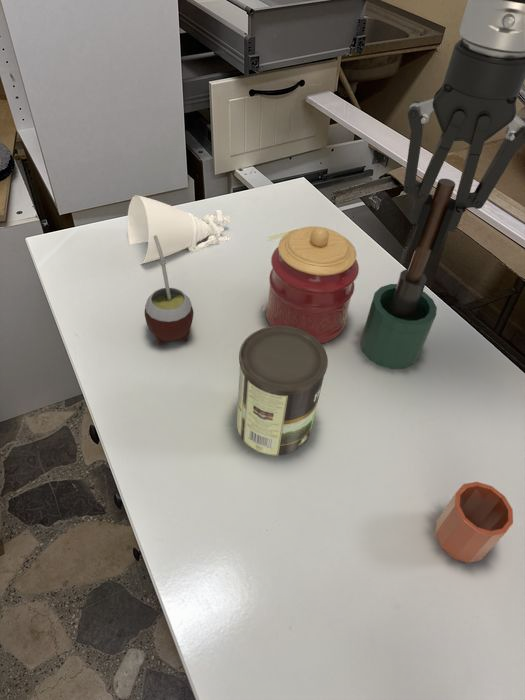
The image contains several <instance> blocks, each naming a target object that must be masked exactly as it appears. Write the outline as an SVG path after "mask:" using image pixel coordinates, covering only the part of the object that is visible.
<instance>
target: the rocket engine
mask: <svg viewBox="0 0 525 700" xmlns="http://www.w3.org/2000/svg"><path fill="white" fill-rule="evenodd" d="M213 213H214V214H213ZM213 213H210V215H209V214H205V215H204V216H203V217H202V219H201V218H199V217H197V216H196V215H194V214H193V213H192V212H189V211H188V212H187V211H184V210H182V209H179V207H175V206H173V205H170V204H168V203H165V202H162V201H159V200H156V199H153V198H150V197H145V196H142V195H134V196H132V198H131V200H130V202H129V205H128V210H127V222H126V223H127V226H126V227H127V238H128V243H129V245H134V244H140V243H147V250H146V254H145V258H144V260H143V261H142V262H139V264H140V265H142V264H147V263H151V262H154V261H158V260H159V258H160V256H159V253H158V249H157V246H156V243H155V240H154V236H157V237H158V240H159V243H160V246H161V249H162V253H163V256H164V257H165V258H166V257H170V256H171V255H174V254H176V253H179V252H182V251H183V250H185V249H187V250H188V251H189V252H191V253H197V252H199V251H200V250H203V249H205V248H206V247H208V246H210V245H216V244H220V243H223V242H228V241H229V240H232V237H231V236H230V235H223V233H224V232H225V228H224V227H223V226H222V225H223V224H224V225H226V226H227V225H228V224H229V223H230V220H231V218H230V216H229V215H223V211H222V209H215V210H214V211H213ZM221 235H222V236H221ZM206 238H207V240H206V241H204V242H203V240H204V239H206ZM199 242H200V243H199ZM197 243H198V244H197Z"/></svg>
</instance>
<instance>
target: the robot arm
mask: <svg viewBox="0 0 525 700" xmlns="http://www.w3.org/2000/svg"><path fill="white" fill-rule="evenodd" d="M458 34H459V36H460V38H461V39H459V40H458V41H457V42H456V43H455V44H454V46H453V50H452V52H451V56H450V60H449V63H448V66H447V68H446V69H447V70H446V72H445V76H444V79H443V82H442V85H441V87H439V89H438V90H437V91H436V92H435V94H434V95H433V98H431V99H427V100H424V101H421V102H420V101H419V100H412V101H411V102H410V105H409V107H408V112H407V118H408V123H409V127H410V137H409V144H408V152H407V153H408V154H407V159H406V167H405V175H404V182H403V192H404V194H406V195H411V196H413V198H414V202H413V206H412V208H411V212H410V215H409V216H410V217H409V221H410V223H411V224H415V227H414V232H413V234H412V237H411V243H410V246H409V250H412V251H416V249H417V246H418V243H419V240H420V237H421V234H422V231H423V228H424V225H425V223H426V220H427V217H428V214H429V211H430V208H431V204H432V198H433V195H434V194H431V191H432V189H433V187H434V185H435V182H436V181H437V178H438V176H439V174H440V171H441V170H442V167H443V165H444V163H445V160H446V158H447V156H448V154H449V152H450V150H451V149H452V147H453V145H454V143H455V142H464V143H466V144H468V148H467V153H466V157H465V160H464V164H463V168H462V171H461V176H460V179H459V183H458V186H457V187H458V188H457V191H456V195H455V199H453V198H451V199H450V201H449V204H448V206H447V209H446V212H445V215H444V217H443V220H442V223H441V226H440V228H439V231H438V234H437V236H436V239H435V242H434V245H433V247H432V250H431V253H430V255H432V256H438V254H439V251H440V249H441V246H442V243H443V241H444V238H445V235H446V233H447V232H451V233H454V232H455V231H456V230H457V229H458V227H459V225H460V221H461V219H462V216H463V214H464V213H465V212H466V210H467V209H469V208H471V209H472V208H474V209H476V210H479V209H482V208H483V207H484V206H485V204H486V202H487V200H488V199H489V197H490V196H491V194H492V192H493V191H494V189H495V187H496V186H497V184H498V183H499V181H500V179H501V177H502V176H503V174H504V172H505V171H506V169H507V167H508V166H509V164H510V162H511V161H512V159H513V158H514V156H515V154H516V153H517V152H518V150H520V149H521V148H522V147H523V146H524V145H525V120H523V119H522V118H520V117H519V116H518V114H517V100H518V96H519V94H520V92H521V90H522V87H523V85H524V83H525V0H468V1H467V3H466V6H465V10H464V13H463V16H462V20H461V23H460V26H459V31H458ZM433 112H434V113H435V117H436V119H437V122H438V125H439V128H440V131H441V134H440V137H439V139H438V142H437V144H436V147H435V149H434V151H433V154H432V156H431V158H430V161H429V163H428V165H427V167H426V169H425V171H424V174H423V176H422V179H421V181H418V180H417V175H418V168H419V161H420V155H421V148H422V141H423V134H424V128H425V127H424V126H425V124H427V123H429V121H430V118H431V114H432V113H433ZM505 127H507V128H506V130H505V138H504V139H503V141H502V143H501V144H500V146H499V148H498V150H497V152H496V153H495V155H494V157H493V158H492V160H491V162H490V163H489V165H488V167H487V168H486V171H485V172H484V174H483V176H482V178H481V179H480V181H479V183H478V185H477V186H476V188H475V190H474V191H473V192H472V187H473V183H474V179H475V175H476V172H477V169H478V164H479V161H480V157H481V155H482V151H483V148H484V145H485V142H486V141H488V140H489V139H491V138H492V137H493V136H494V135H496V134H497V133H498V132H500V131H501V130H503V129H504V128H505ZM410 223H409V224H410Z"/></svg>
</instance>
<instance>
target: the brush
mask: <svg viewBox="0 0 525 700" xmlns="http://www.w3.org/2000/svg"><path fill="white" fill-rule="evenodd" d="M455 188H456V182H455V181H453V180H452V179H449V178H440V179H438V181H437V183H436V186H435V190H434V193H433V194H432V195H433V198H432V204H431V208H430V211H429V214H428V217H427V220H426V223H425V225H424V228H423V231H422V234H421V237H420V240H419V243H418V246H417V249H416V251H415V250H413V251H414V252H413V254H412V257H411V259H410V260H411V261H410V263H409V265H408V268H406V269H404V270H402V271H400V274H399V277H398V280H397V283H396V284H397V286H396V289H395V292H394V295H393V298H392V301H391V304H390V310H391V312H392V313H393V314H394V315H396V316H398V317H401V318H409V317H412V316H413V315H414V313H415V310H416V308H417V305H418V302H419V300H420V297H421V294H422V292H423V291H424V289H425V287H426V284H427V282H428V281H427V280H428V279H427V276H426V275H425V274H424V271H425V269H426V266H427V264H428V261H429V258H430V255H431V251H432V247H433V245H434V242H435V239H436V236H437V234H438V231H439V228H440V226H441V223H442V220H443V217H444V215H445V212H446V209H447V206H448V204H449V201H450V199H452V195H453V193H454V191H455Z"/></svg>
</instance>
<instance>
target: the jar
mask: <svg viewBox="0 0 525 700" xmlns="http://www.w3.org/2000/svg"><path fill="white" fill-rule="evenodd" d="M396 286H397V283H389V284H386V285H383V286H381V287H379V288H378V289H377V290H376V291H374V294H373V297H372V301H371V303H370V306H369V307H370V308H369V311H368V315H367V318H366V321H365V324H364V328H363V332H362V336H361V338H360V343H359V344H360V347H361V351H362V353H363V354H364V355H365V356H366V358H367V359H368V360H369V361H370V362H373V363H374V364H376V365H378V366H380V367H383V368H387V369H391V370H397V369H398V370H402V369H406V368H409V367H411V366H413V365H414V364H415V363H416V362H417V361H418V360H419V357H420V355H421V353H422V350H423V348H424V345H425V343H426V340H427V339H428V335H429V334H430V332H431V328H432V326H433V324H434V321H435V319H436V316H437V309H438V308H437V307H438V306H437V305H436V302H435V301H434V299H433V298H432V297H431V296H430V295H428V293H426V292H425V291H424V290H423V292H422V294H421V297H420V300H419V302H418V305H417V308H416V310H415V313H414V315H413V316H412V317H409V318H401V317H398V316H396V315H394V314H393V313H392V312H391V310H390V304H391V301H392V298H393V295H394V292H395V289H396Z"/></svg>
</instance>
